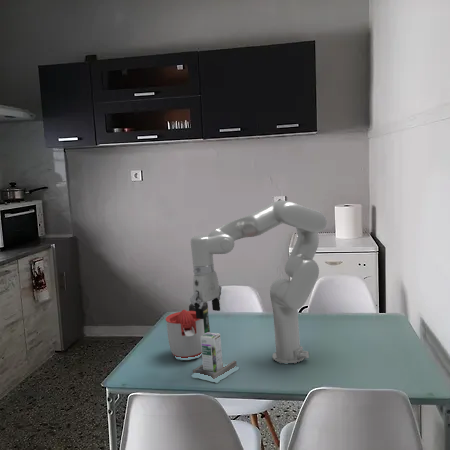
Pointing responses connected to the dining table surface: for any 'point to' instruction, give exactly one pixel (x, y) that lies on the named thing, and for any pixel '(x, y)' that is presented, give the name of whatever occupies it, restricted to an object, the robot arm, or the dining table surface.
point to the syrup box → (211, 352)
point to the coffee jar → (206, 318)
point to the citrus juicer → (185, 333)
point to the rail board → (215, 374)
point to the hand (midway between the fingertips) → (208, 314)
